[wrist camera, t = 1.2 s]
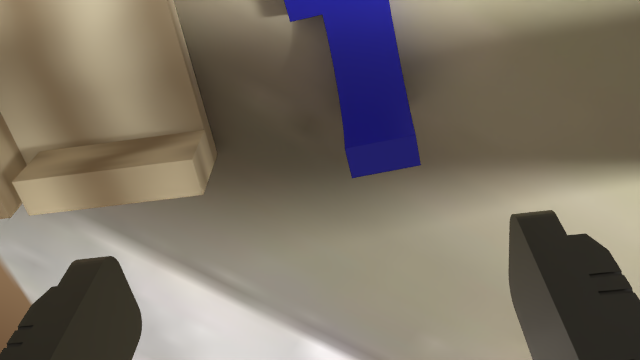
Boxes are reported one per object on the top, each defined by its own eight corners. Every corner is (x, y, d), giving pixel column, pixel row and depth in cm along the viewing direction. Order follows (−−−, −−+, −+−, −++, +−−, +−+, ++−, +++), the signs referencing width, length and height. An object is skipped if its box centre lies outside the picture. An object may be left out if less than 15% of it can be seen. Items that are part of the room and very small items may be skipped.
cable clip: (255, -127, 24) (234, -113, 19) (360, -156, 23) (367, -149, 18) (321, 123, 30) (318, 184, 25) (405, 106, 30) (420, 165, 24)
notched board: (100, -256, 22) (56, -271, 18) (217, 154, 31) (203, 194, 28) (-185, -198, 23) (-276, -201, 19) (11, 180, 32) (-27, 222, 29)
